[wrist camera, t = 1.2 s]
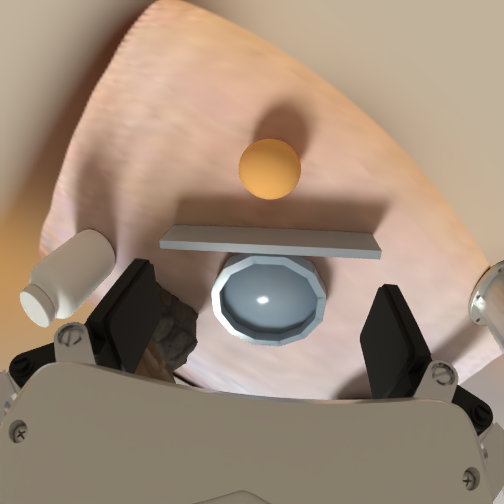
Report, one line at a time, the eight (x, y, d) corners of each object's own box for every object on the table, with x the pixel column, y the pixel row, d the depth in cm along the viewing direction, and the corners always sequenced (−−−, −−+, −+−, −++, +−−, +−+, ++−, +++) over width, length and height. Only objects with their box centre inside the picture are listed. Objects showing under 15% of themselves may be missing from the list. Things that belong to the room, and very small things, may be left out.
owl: (209, 316, 40) (165, 437, 23) (173, 354, 46) (132, 451, 28) (137, 267, 38) (57, 370, 20) (113, 313, 43) (53, 401, 26)
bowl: (329, 249, 33) (332, 259, 31) (316, 335, 40) (317, 347, 37) (212, 244, 35) (207, 253, 32) (220, 329, 41) (217, 340, 39)
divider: (371, 233, 31) (381, 250, 27) (370, 241, 32) (379, 259, 28) (173, 225, 34) (158, 240, 30) (174, 232, 34) (160, 248, 31)
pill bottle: (96, 218, 35) (24, 273, 22) (126, 264, 38) (67, 331, 25) (69, 240, 38) (6, 292, 24) (96, 280, 40) (43, 341, 27)
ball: (300, 137, 27) (303, 142, 22) (298, 191, 30) (300, 209, 25) (243, 136, 28) (232, 141, 23) (244, 189, 31) (234, 206, 26)
